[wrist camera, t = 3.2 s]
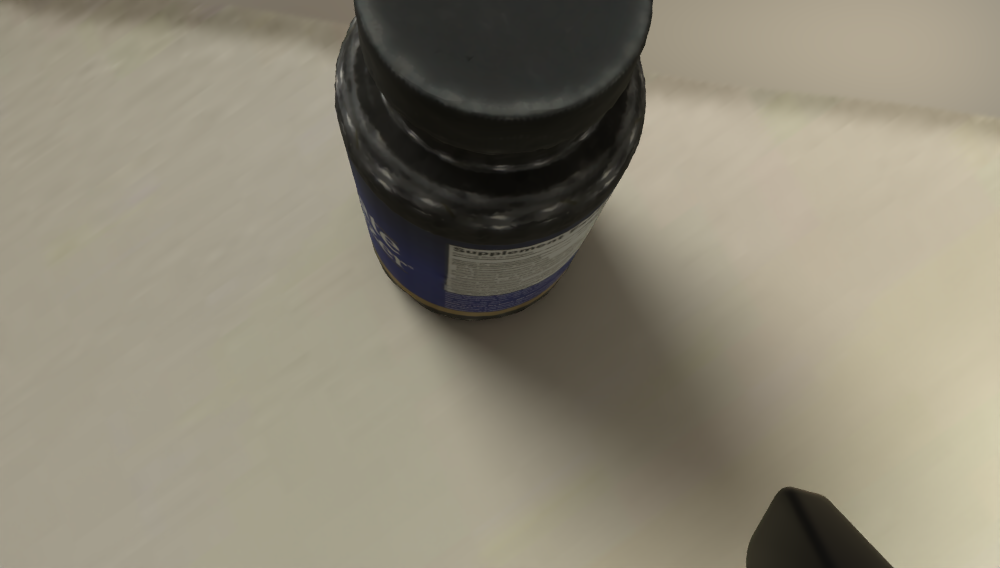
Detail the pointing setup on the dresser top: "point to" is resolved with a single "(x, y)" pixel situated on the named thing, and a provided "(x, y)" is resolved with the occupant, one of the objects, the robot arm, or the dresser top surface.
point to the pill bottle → (488, 138)
